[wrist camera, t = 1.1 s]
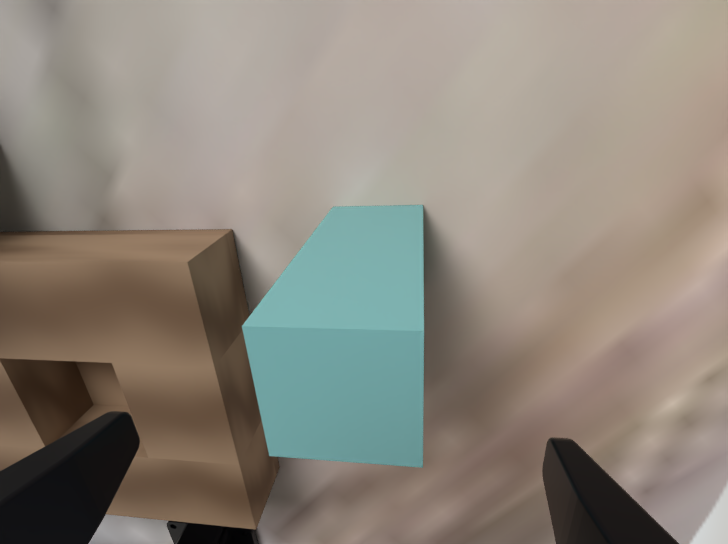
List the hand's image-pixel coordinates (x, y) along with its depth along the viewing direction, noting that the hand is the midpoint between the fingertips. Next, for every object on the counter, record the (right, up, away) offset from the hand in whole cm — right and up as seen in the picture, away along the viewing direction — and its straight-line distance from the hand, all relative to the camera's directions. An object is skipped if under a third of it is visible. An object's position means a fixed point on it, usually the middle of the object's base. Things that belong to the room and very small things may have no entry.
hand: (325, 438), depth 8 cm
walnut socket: (-13, -2, +15) cm, 20 cm away
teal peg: (+2, +5, +10) cm, 11 cm away
